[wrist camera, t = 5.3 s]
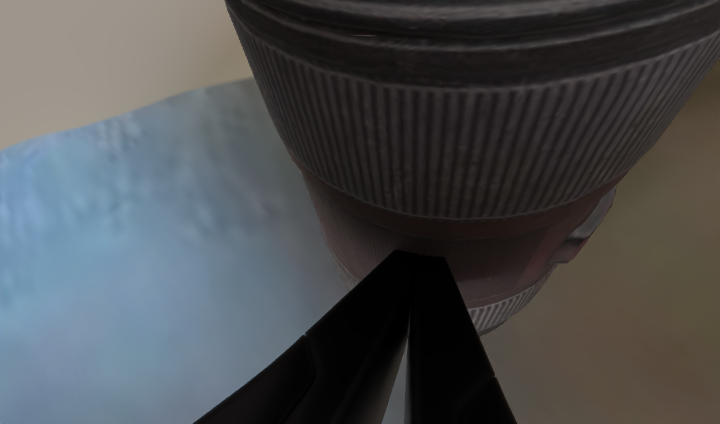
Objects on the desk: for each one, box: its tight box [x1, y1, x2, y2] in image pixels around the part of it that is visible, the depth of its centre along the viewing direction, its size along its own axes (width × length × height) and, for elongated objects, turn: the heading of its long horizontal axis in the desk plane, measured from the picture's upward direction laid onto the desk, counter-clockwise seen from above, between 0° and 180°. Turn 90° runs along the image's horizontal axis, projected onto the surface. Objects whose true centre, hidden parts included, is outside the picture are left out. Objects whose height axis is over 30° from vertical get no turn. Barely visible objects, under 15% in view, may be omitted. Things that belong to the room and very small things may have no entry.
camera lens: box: [225, 0, 720, 338], centre depth 11 cm, size 8×8×15 cm
